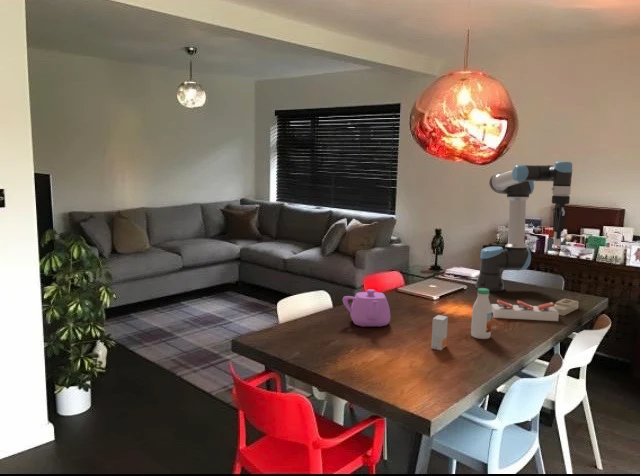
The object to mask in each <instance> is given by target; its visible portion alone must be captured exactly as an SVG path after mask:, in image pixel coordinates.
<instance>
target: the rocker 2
mask: <svg viewBox="0 0 640 476" xmlns="http://www.w3.org/2000/svg"><path fill="white" fill-rule="evenodd" d="M516 302H517V305H522V306H525V307H527V308H530V309H532V310H533V306H534V305H531V304H528V303H526V302H524V301H522V300H520V299H519V300H518V299H517V301H516Z"/></svg>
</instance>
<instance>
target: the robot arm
mask: <svg viewBox="0 0 640 476" xmlns="http://www.w3.org/2000/svg"><path fill="white" fill-rule="evenodd" d="M572 176H573V163H572V161H556V162H555V163H554V165H553V164H548V165H544V164H543V165H538V164H536V165H533V164H532V165H527V164H525V165H524V164H519V165H518V164H516V165H514V166H513V168H512V170H509V171H506V172H497V173H495V174H493V175H492V176H491V177H490V178H489V183H488V185H489V187H490V189H491V190H492V191H494V192H495V193H497V194H501V195H506V198H507V199H508V200H509V205H508V206H509V207H508V229H507V230H508V231H507V232H508V233H507V234H508V235H507V243H506V244H505V246H504V248H503V247H502V246H487V247H484V248H482V249H481V251H480V256H479V258H480V262H479V275H478V277H477V279H476V283H475V288H476V289H477V290H478V289H479V288H486V289H489V292H502V291H504V290H505V285H504V281H503V277H502V272H503V271H525V270H527V269H528V267H529V266H530V264H531V262H532V255H531V253H532V252H531V251H530V250H529V249H528V246H527V245H526V244H525V236H526V235H525V233H526V211H527V210H526V209H527V200H528V199H529V198H530V195H532V194H533V192H534V189H535V184H534V182H553V183H552V187H551V191H552V193H551V194H552V196H551V203H552V204H555V207H554V208H553V209H552V212H553V219H552V220H553V223H552V225H553V226H552V228H553V231H554V235H553V246H557V247H561V245H562V244H561V243H562V242H561V241H562V233H563V232H564V230H565V229H564V228H565V223H566V216H567V213H568V212H567V211H566V209H567V208H566V205H569V204H570V201H571V199H570V198H571V197H570V195H571V188H572V187H571V186H572Z"/></svg>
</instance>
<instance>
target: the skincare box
mask: <svg viewBox="0 0 640 476" xmlns="http://www.w3.org/2000/svg"><path fill="white" fill-rule="evenodd" d="M448 319H449V317H448V316H446V315H440V314H438V315H437V314H436V315H435V316H434V317H433V318H432V321H431V322H432V323H431V324H432V325H431V326H432V327H431V344H430V348H431V349H433V350H438V351H443V349H444V348H445V347H447V338H448V322H449V320H448Z"/></svg>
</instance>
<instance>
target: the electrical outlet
mask: <svg viewBox="0 0 640 476" xmlns="http://www.w3.org/2000/svg"><path fill="white" fill-rule="evenodd" d="M579 304H580V303H579V301H578V300H574V299H569V298H562V299H560V300H558V301H555V303H554V305H555V306H553V307H554V308H555V309H556V310H557V311H558V312H559V316H563V317H564V316H566V315H568V314H570V313H572V312H574V311H575V310H578V309H579Z"/></svg>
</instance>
